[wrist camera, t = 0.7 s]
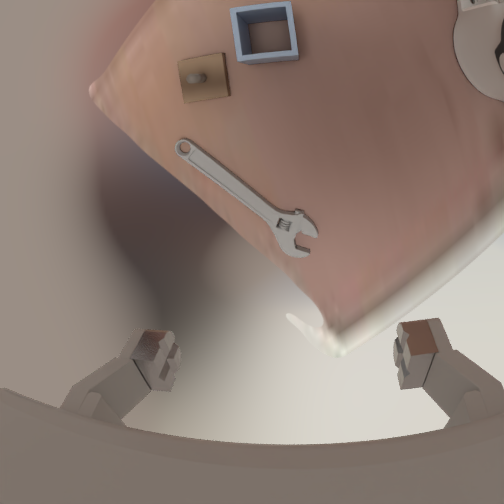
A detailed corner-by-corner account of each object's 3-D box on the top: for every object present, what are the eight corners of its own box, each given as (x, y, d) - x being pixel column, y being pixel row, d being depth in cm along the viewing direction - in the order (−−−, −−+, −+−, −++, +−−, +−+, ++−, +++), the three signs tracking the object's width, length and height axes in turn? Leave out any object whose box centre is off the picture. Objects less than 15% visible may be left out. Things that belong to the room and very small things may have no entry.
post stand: (181, 62, 37) (163, 60, 31) (224, 53, 35) (212, 50, 30) (187, 102, 40) (171, 106, 34) (230, 95, 38) (219, 98, 33)
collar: (242, 20, 33) (229, 8, 26) (292, 15, 32) (290, 1, 25) (248, 64, 36) (237, 61, 29) (298, 59, 35) (298, 55, 28)
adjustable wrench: (174, 147, 44) (169, 150, 42) (201, 115, 41) (197, 116, 39) (296, 257, 50) (296, 263, 49) (327, 233, 47) (328, 238, 46)
